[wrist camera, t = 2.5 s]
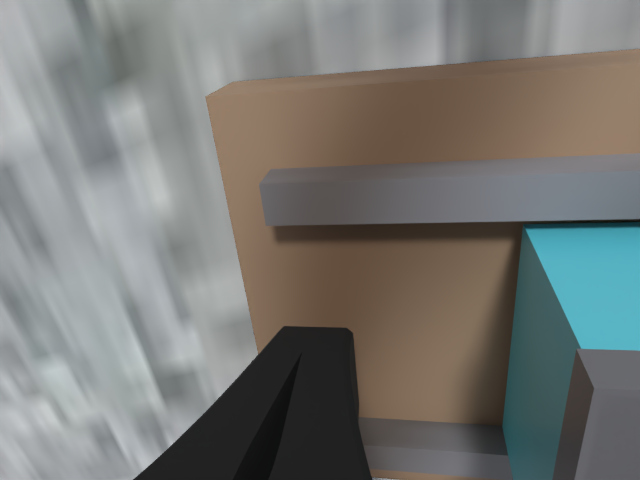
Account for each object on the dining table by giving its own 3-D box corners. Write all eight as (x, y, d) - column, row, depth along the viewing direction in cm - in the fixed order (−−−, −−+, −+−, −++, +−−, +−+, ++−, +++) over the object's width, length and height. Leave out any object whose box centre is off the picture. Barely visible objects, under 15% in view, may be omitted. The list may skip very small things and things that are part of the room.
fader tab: (728, 215, 8) (992, 405, 4) (657, 439, 10) (787, 681, 7) (517, 219, 8) (594, 387, 5) (497, 429, 11) (539, 645, 7)
